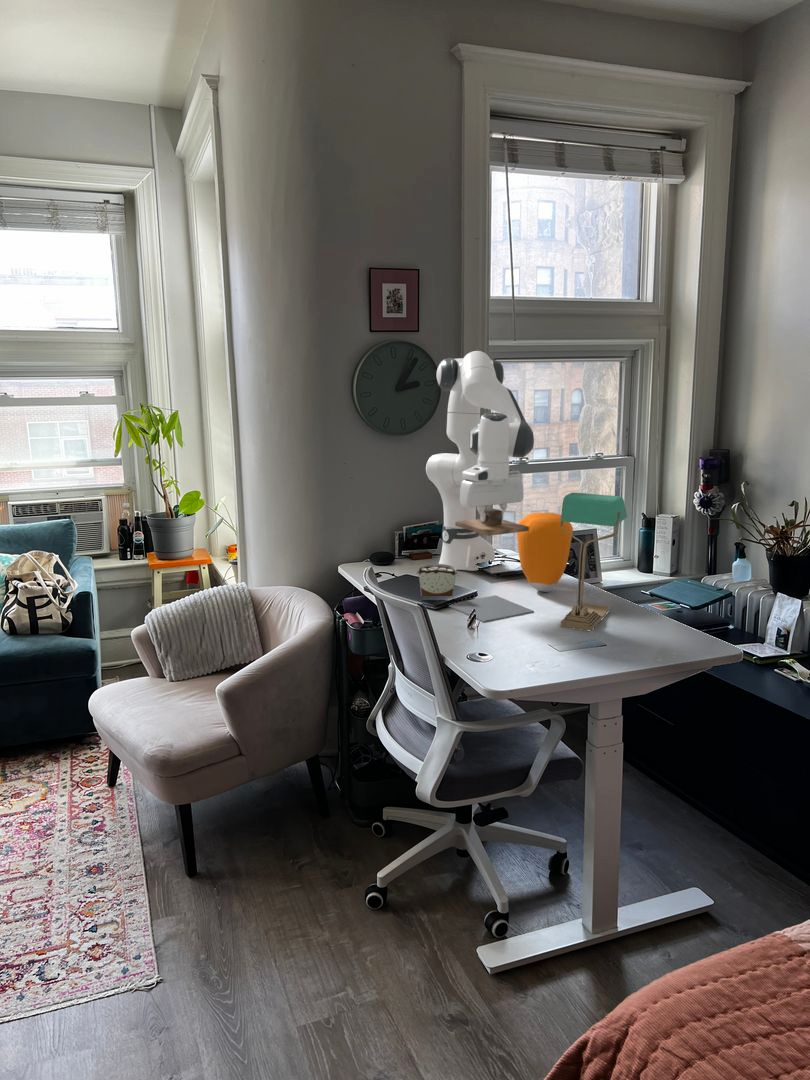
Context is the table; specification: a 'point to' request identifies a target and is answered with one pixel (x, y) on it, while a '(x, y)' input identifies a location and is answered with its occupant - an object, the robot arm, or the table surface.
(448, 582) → the food container
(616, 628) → the table surface
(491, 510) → the walnut cover
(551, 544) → the orange tapered rounded form
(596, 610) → the banker's lamp
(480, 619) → the charcoal mat
